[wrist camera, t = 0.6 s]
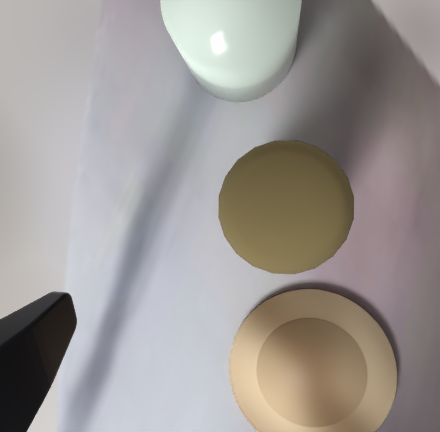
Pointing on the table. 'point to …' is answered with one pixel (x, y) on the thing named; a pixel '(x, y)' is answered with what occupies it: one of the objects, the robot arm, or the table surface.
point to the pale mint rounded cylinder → (235, 43)
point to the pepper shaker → (286, 207)
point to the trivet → (312, 365)
